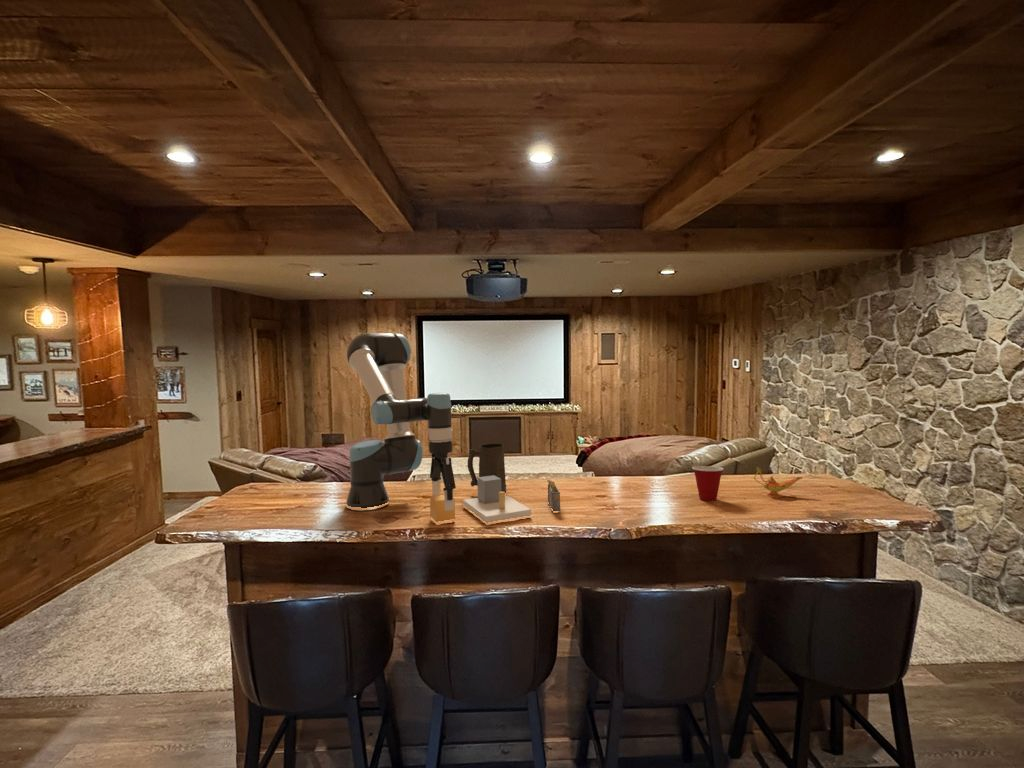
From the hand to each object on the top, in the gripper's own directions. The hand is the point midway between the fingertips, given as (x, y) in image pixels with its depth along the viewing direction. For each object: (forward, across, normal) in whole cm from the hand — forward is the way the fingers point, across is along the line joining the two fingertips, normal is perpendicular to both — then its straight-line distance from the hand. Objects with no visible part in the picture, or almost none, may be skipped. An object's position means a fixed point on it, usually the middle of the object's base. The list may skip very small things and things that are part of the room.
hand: (442, 505), depth 168 cm
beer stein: (+5, +24, -25) cm, 35 cm away
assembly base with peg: (+6, +1, -19) cm, 20 cm away
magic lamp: (+7, -30, -120) cm, 124 cm away
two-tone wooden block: (+6, +1, 0) cm, 6 cm away
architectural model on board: (+7, -4, -39) cm, 40 cm away
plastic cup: (+7, -21, -94) cm, 97 cm away
